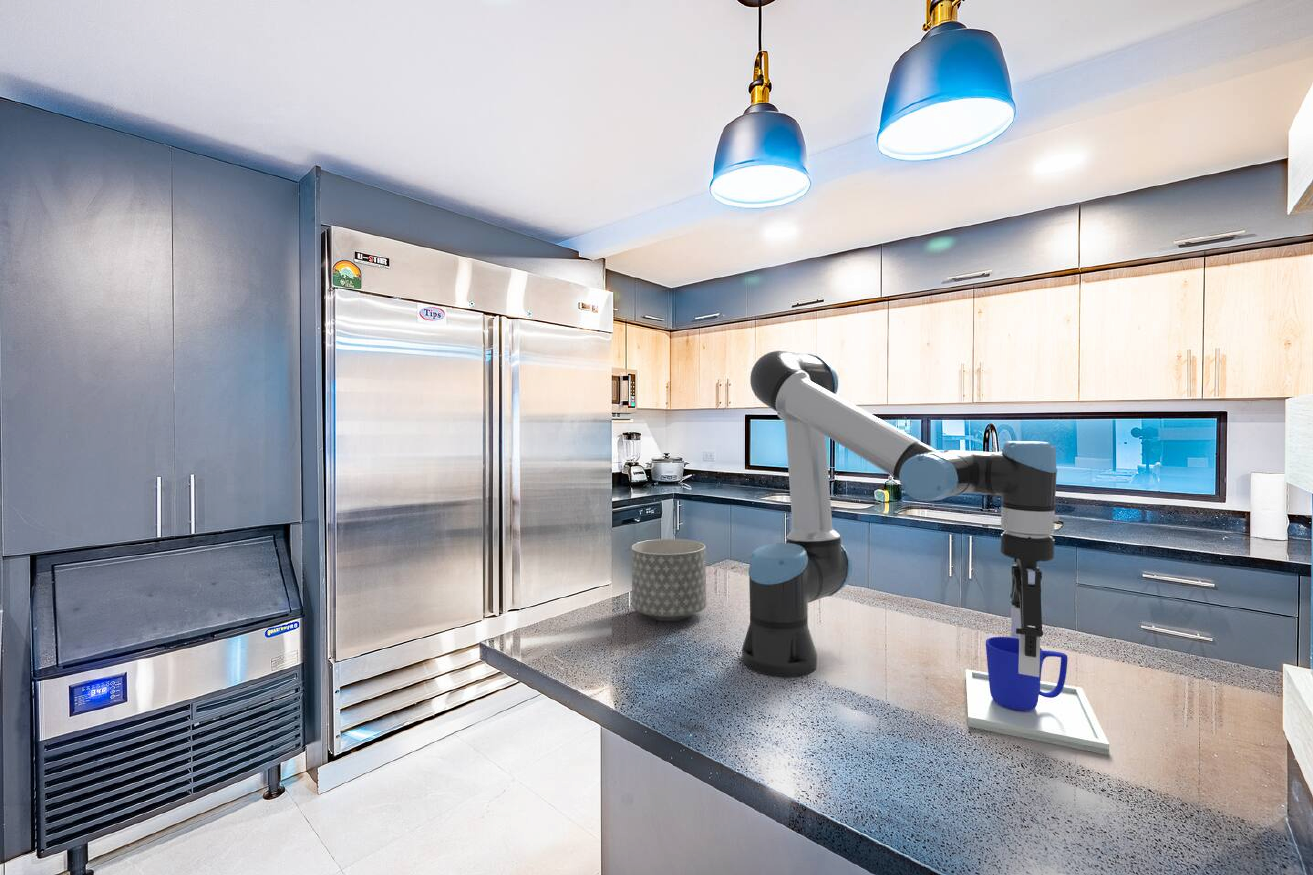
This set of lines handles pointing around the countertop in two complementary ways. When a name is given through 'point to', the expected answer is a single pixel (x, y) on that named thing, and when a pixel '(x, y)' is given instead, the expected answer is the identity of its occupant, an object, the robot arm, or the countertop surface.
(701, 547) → the planter
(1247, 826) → the countertop surface
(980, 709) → the tray
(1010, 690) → the mug
